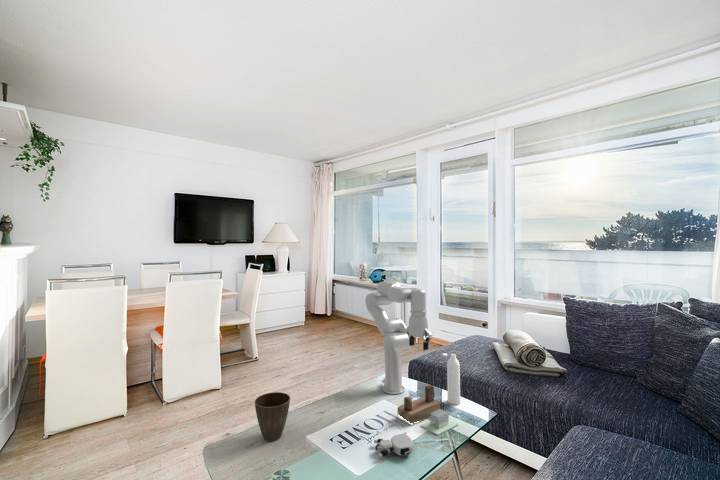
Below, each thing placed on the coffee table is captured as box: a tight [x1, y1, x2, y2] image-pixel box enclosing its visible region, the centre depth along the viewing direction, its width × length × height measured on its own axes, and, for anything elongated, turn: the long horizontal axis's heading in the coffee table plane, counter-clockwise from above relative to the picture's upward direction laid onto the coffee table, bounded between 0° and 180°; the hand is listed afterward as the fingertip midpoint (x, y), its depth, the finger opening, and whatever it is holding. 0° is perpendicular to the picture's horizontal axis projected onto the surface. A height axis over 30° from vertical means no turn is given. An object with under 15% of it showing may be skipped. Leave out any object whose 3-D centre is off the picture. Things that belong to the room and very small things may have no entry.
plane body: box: [397, 384, 441, 423], centre depth 165 cm, size 9×20×12 cm, turn 127°
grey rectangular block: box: [429, 408, 450, 429], centre depth 155 cm, size 5×7×5 cm
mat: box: [420, 419, 459, 436], centre depth 155 cm, size 10×14×1 cm
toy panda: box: [373, 432, 416, 458], centre depth 136 cm, size 12×4×15 cm
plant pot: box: [254, 391, 291, 442], centre depth 147 cm, size 15×15×16 cm
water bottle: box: [442, 352, 461, 405], centre depth 179 cm, size 9×6×25 cm
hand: (418, 347), depth 174 cm, fingers open, 9 cm apart
